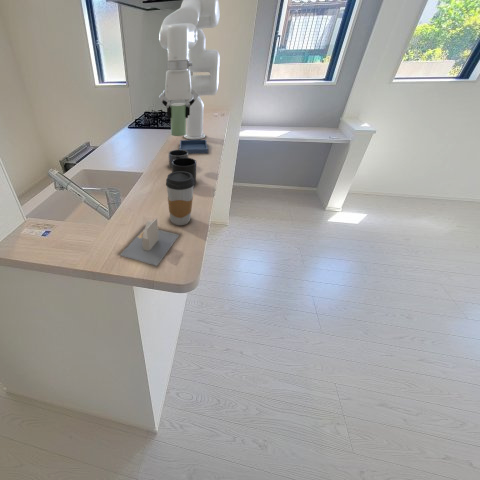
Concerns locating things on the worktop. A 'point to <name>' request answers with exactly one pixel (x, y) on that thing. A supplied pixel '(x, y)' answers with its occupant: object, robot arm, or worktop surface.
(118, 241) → the worktop surface
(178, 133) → the green cup
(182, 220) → the coffee cup
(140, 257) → the architectural model
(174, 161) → the mug
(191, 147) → the tray
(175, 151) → the dark gray cup
